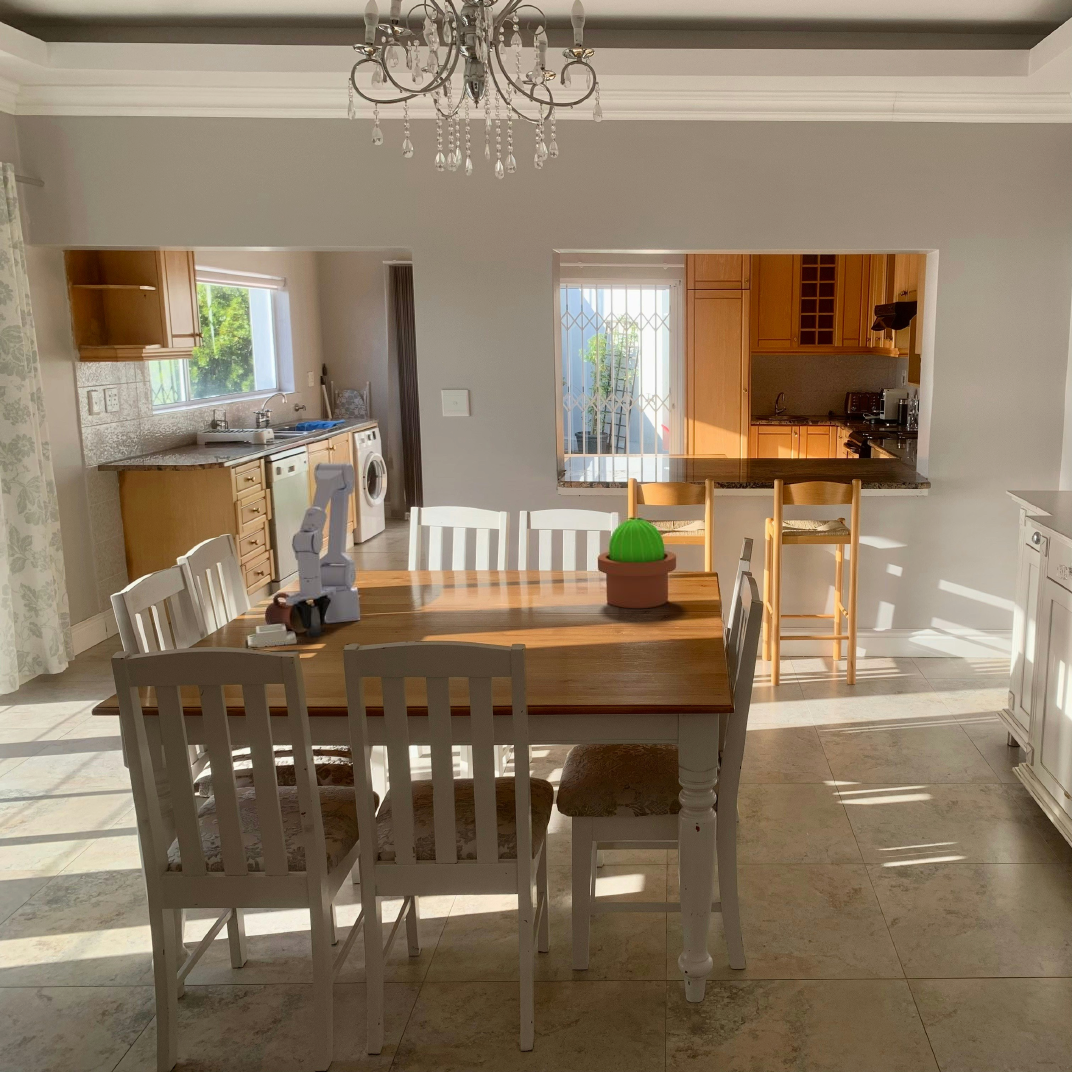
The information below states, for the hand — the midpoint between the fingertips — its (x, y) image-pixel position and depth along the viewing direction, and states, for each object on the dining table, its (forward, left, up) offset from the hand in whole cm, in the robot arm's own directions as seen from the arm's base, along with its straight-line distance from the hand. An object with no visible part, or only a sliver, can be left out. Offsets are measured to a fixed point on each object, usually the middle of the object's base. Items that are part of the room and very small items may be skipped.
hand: (313, 626), depth 265 cm
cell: (0, 0, -2) cm, 2 cm away
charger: (+11, +1, -2) cm, 11 cm away
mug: (+11, -12, +3) cm, 16 cm away
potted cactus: (-92, +2, -3) cm, 92 cm away
